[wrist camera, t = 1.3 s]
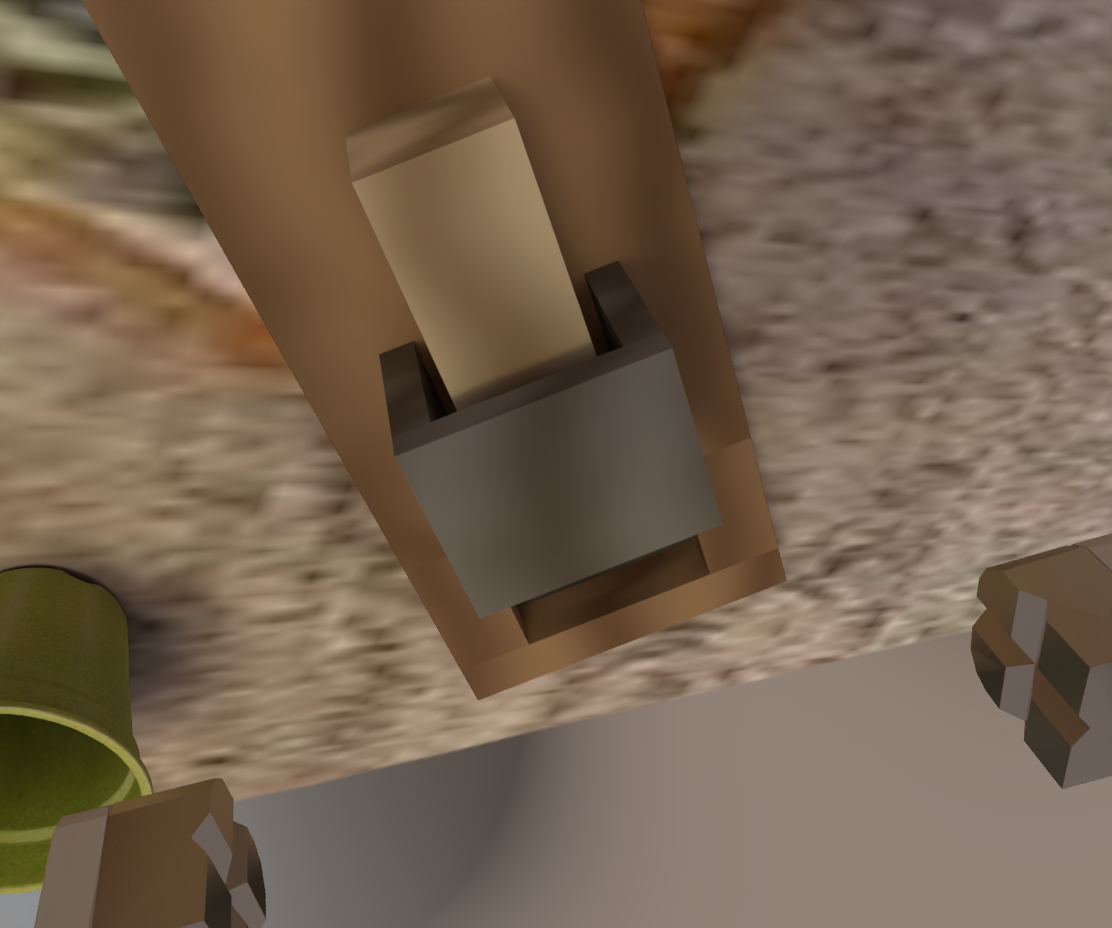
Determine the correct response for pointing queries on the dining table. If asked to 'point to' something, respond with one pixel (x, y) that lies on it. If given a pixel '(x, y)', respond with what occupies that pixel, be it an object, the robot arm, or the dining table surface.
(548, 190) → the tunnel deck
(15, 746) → the plant pot
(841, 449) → the dining table surface
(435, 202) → the birch bar
